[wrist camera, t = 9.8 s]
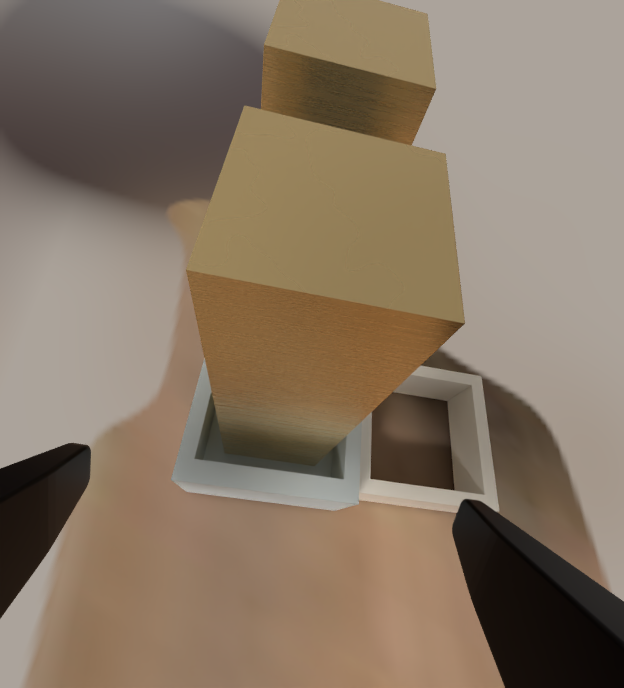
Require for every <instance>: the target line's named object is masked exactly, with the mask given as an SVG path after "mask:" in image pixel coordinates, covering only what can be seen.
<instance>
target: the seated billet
mask: <svg viewBox="0 0 624 688" xmlns="http://www.w3.org/2000/svg"><path fill="white" fill-rule="evenodd" d="M263 57H264V58H263V79H262V80H263V81H262V100H261V110H265V111H269V112H273V113H278V114H282V115H286V116H290V117H294V118H298V119H303V120H307V121H311V122H315V123H319V124H323V125H328V126H332V127H336V128H340V129H344V130H348V131H353V132H357V133H361V134H365V135H369V136H373V137H378V138H382V139H386V140H390V141H394V142H398V143H403V144H407V145H412V143H413V141H414V138H415V136H416V134H417V132H418V129H419V127H420V125H421V122H422V120H423V118H424V116H425V113H426V111H427V108H428V106H429V104H430V102H431V100H432V97H433V95H434V93H435V90H436V84H435V75H434V66H433V57H432V49H431V40H430V32H429V23H428V15H427V14H426V13H423V12H419V11H415V10H412V9H408V8H404V7H401V6H397V5H393V4H390V3H386V2H382V1H379V0H280V1H279V4H278V6H277V9H276V12H275V15H274V18H273V21H272V24H271V26H270V29H269V32H268V35H267V38H266V40H265V43H264V56H263Z"/></svg>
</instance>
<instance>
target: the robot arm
mask: <svg viewBox="0 0 624 688" xmlns="http://www.w3.org/2000/svg"><path fill="white" fill-rule="evenodd" d="M90 463H91V450H90V447H89V446H88V445H83V444H77V443H68V444H65V445H63V446H60V447H57V448H55V449H52V450H49V451H46V452H44V453H41V454H38V455H36V456H33V457H30V458H28V459H25V460H22V461H20V462H17V463H14V464H12V465H9V466H6V467H4V468H1V469H0V618H1V617H2V615H3V614H4V613H5V611H6V610H7V608H8V607H9V606H10V604H11V603H12V602H13V600H14V599H15V598H16V596H17V595H18V593H19V592H20V591H21V589H22V588H23V587H24V585H25V584H26V582H27V581H28V580H29V578H30V577H31V575H32V574H33V573H34V571H35V570H36V569H37V567H38V566H39V564H40V563H41V561H42V560H43V559H44V557H45V556H46V554H47V553H48V552H49V550H50V548H51V547H52V545H53V543H54V542H55V540H56V538H57V537H58V535H59V533H60V532H61V530H62V528H63V527H64V525H65V523H66V521H67V520H68V518H69V516H70V515H71V513H72V511H73V509H74V508H75V506H76V504H77V503H78V501H79V499H80V498H81V496H82V494H83V492H84V491H85V489H86V487H87V485H88V482H89V479H90ZM452 533H453V538H454V541H455V545H456V548H457V552H458V555H459V559H460V562H461V566H462V569H463V573H464V576H465V580H466V583H467V587H468V590H469V593H470V596H471V600H472V602H473V605H474V608H475V611H476V613H477V616H478V618H479V621H480V624H481V626H482V629H483V631H484V634H485V637H486V639H487V642H488V644H489V647H490V650H491V652H492V655H493V657H494V660H495V663H496V665H497V668H498V670H499V673H500V676H501V678H502V681H503V683H504V686H505V688H624V601H622V600H621V599H619V598H618V597H616V596H615V595H614V594H612V593H611V592H609V591H608V590H607V589H605V588H604V587H602V586H601V585H599V584H598V583H597V582H595V581H594V580H592V579H591V578H589V577H588V576H587V575H585V574H584V573H582V572H581V571H580V570H578V569H577V568H575V567H574V566H572V565H571V564H570V563H568V562H567V561H565V560H564V559H563V558H561V557H560V556H558V555H557V554H555V553H554V552H553V551H551V550H550V549H548V548H547V547H546V546H544V545H543V544H541V543H540V542H538V541H537V540H536V539H534V538H533V537H531V536H530V535H529V534H527V533H526V532H524V531H523V530H521V529H520V528H519V527H517V526H516V525H514V524H513V523H511V522H510V521H509V520H507V519H506V518H504V517H503V516H502V515H500V514H499V513H497V512H496V511H494V510H493V509H492V508H490V507H489V506H487V505H486V504H485V503H483V502H482V501H479V500H473V499H464V500H463V501H462V502H461V504H460V506H459V509H458V512H457V514H456V517H455V520H454V523H453V527H452Z"/></svg>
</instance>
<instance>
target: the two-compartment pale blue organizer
mask: <svg viewBox="0 0 624 688" xmlns="http://www.w3.org/2000/svg"><path fill="white" fill-rule="evenodd" d="M361 428H362V422H360V423H359V424H358V425H357V426H356V427H355V428H354V429H353V430H352V431H351V432H350V433H349V434H348V435H347V436H346V437H345V438H344V439H343V440H342V441H340V442H339V443H338V444H337V445H336V446H335V447H334V448H333V449H332V450H331V451H330V452H329V453H328V454H327V455H326V456H325V457H324V458H323V459H321V460H320V461H319V462H318V463H317V464H316V465H315V466H310V465H303V464H296V463H289V462H282V461H275V460H268V459H261V458H254V457H247V456H241V455H234V454H227V453H224V448H223V443H222V438H221V434H220V429H219V424H218V419H217V415H216V410H215V405H214V400H213V396H212V391H211V386H210V381H209V376H208V372H207V367H206V362H205V358H204V362H203V366H202V369H201V373H200V377H199V380H198V384H197V387H196V391H195V395H194V398H193V402H192V406H191V409H190V413H189V416H188V420H187V424H186V427H185V431H184V434H183V438H182V442H181V445H180V449H179V453H178V456H177V460H176V463H175V467H174V471H173V474H172V478H171V480H172V481H173V482H174V483H176V484H177V485H178V486H180V487H181V488H182V489H183V490H185V491H186V492H192V493H200V494H208V495H216V496H224V497H231V498H239V499H247V500H255V501H263V502H270V503H278V504H286V505H294V506H301V507H309V508H317V509H325V510H333V511H335V510H339V509H343V508H347V507H350V506H354V505H358V504H359V481H360V455H361Z"/></svg>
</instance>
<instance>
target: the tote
mask: <svg viewBox="0 0 624 688" xmlns="http://www.w3.org/2000/svg"><path fill="white" fill-rule="evenodd" d="M393 392H396V393H402V394H408V395H414V396H420V397H426V398H432V399H438V400H444V401H447V403H448V415H449V428H450V440H451V452H452V464H453V477H454V489H455V491H453V490H446V489H439V488H432V487H425V486H417V485H410V484H403V483H396V482H388V481H381V480H374V479H370V473H371V432H372V412H371V413H370V414H369V415H368V416H367V417H366V418H365V419H364V420H363V421H362V428H361V455H360V481H359V500H363V501H370V502H378V503H385V504H393V505H400V506H408V507H416V508H423V509H431V510H438V511H446V512H453V513H457V512H458V509H459V506H460V504H461V502H462V501H463V500H464V499H473V500H479V501H482V502H483V503H485V504H486V505H487V506H489V507H490V508H492V509H493V510H494V511H496V512H499V505H498V497H497V490H496V482H495V475H494V467H493V460H492V452H491V445H490V437H489V430H488V422H487V415H486V407H485V400H484V392H483V385H482V377H481V376H477V375H472V374H466V373H460V372H454V371H449V370H443V369H437V368H431V367H426V366H419V367H418V368H417V369H416V370H415V371H414V372H413V373H412V374H411V375H410V376H409V377H408V378H407V379H406V380H405V381H404V382H403V383H402V384H400V385H399V386H398V387H397V388H396V389H395V390H394V391H393Z"/></svg>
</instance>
